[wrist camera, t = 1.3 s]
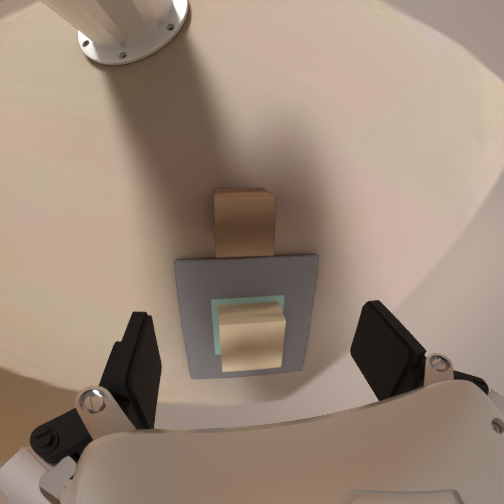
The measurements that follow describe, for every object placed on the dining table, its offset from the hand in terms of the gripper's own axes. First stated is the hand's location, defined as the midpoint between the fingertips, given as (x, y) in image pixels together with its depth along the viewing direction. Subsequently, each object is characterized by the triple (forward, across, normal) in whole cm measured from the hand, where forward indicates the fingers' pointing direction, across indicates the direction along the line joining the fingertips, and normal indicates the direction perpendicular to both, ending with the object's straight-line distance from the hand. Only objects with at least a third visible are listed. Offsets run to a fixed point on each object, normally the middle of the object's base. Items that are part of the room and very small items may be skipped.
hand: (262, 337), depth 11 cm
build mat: (+18, -2, +13) cm, 23 cm away
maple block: (+18, -2, +13) cm, 22 cm away
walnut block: (+19, -1, -1) cm, 19 cm away
